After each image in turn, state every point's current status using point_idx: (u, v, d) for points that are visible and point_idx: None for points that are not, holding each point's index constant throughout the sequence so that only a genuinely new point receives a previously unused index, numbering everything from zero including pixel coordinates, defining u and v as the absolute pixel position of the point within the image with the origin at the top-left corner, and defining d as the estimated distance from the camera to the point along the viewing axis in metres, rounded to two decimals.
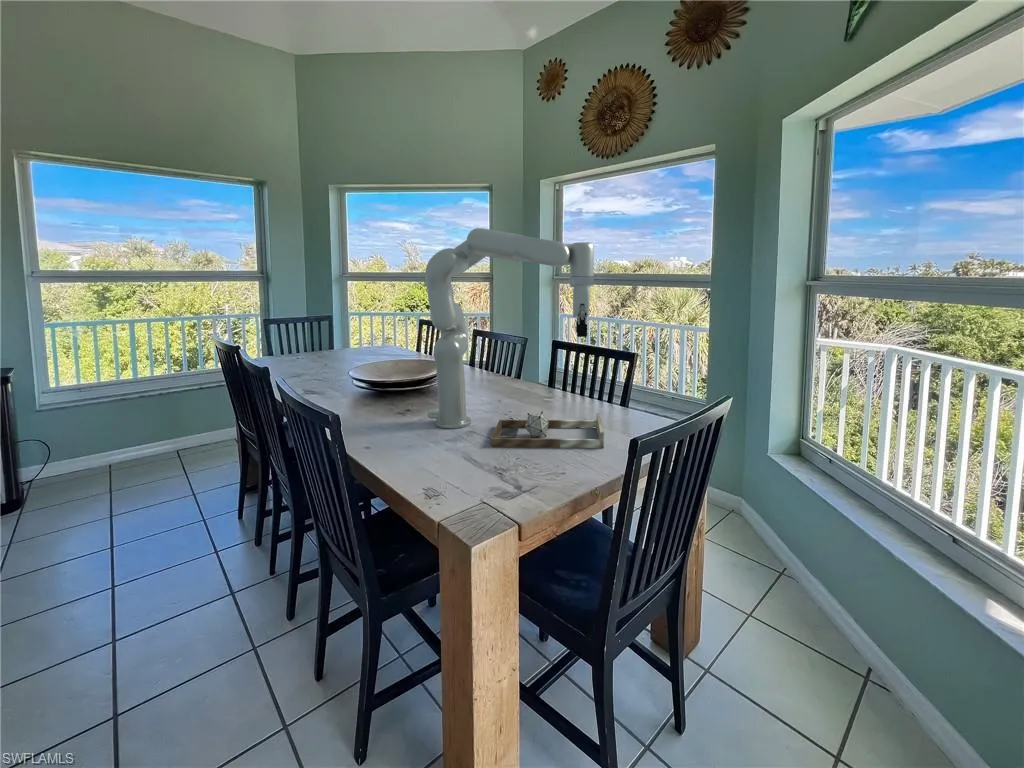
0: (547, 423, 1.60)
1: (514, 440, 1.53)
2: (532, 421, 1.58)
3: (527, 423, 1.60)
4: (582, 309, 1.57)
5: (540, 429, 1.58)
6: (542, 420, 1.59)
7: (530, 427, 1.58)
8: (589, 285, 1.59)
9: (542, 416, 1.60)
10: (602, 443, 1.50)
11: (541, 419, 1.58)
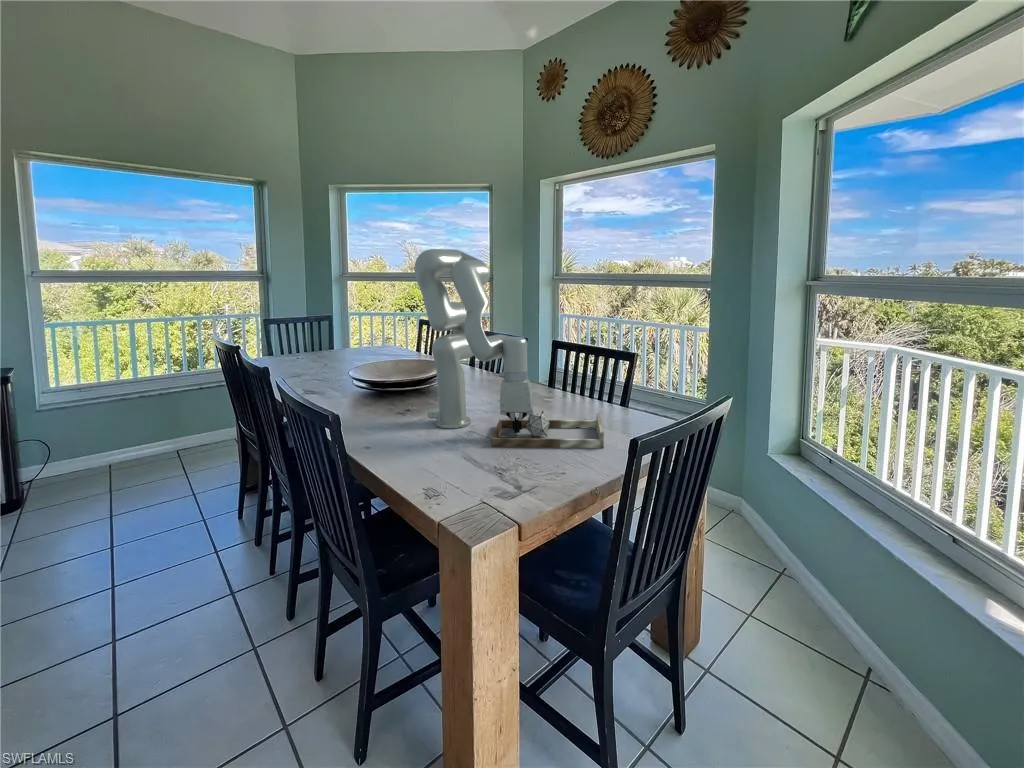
0: (548, 423, 1.60)
1: (514, 440, 1.53)
2: (533, 421, 1.59)
3: (528, 423, 1.60)
4: (532, 409, 1.60)
5: (541, 429, 1.58)
6: (543, 420, 1.59)
7: (531, 427, 1.58)
8: None
9: (543, 416, 1.61)
10: (602, 443, 1.50)
11: (542, 419, 1.58)
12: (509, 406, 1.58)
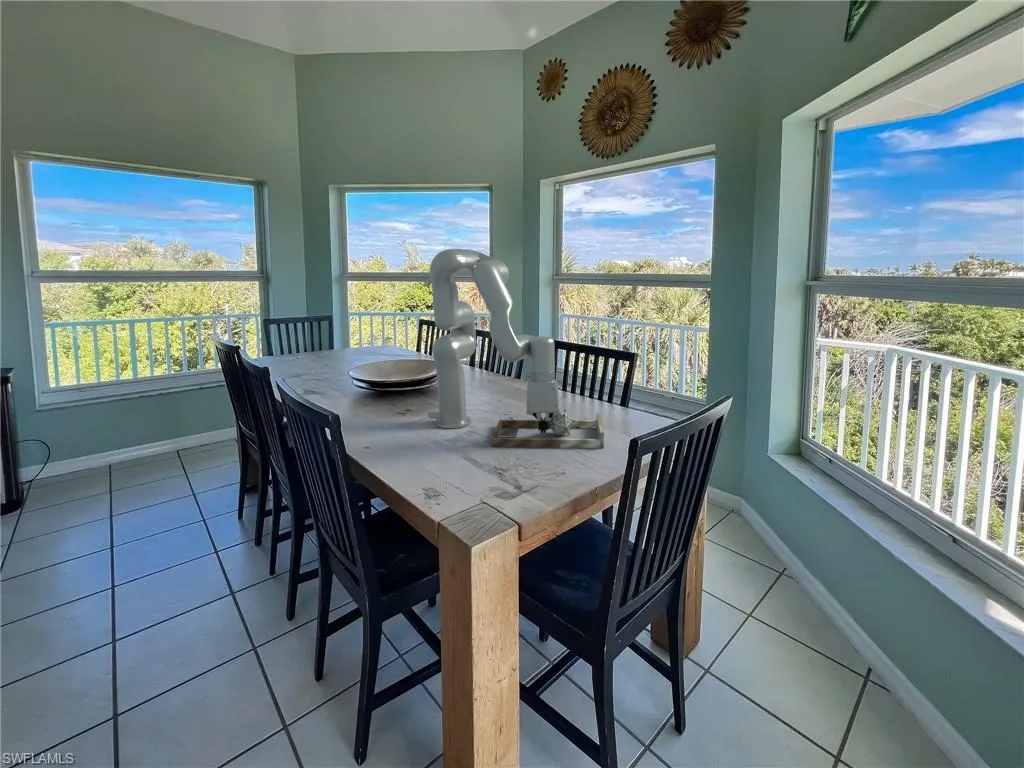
0: (571, 421, 1.61)
1: (514, 440, 1.53)
2: (556, 419, 1.59)
3: (551, 421, 1.61)
4: (558, 409, 1.59)
5: (564, 427, 1.59)
6: (566, 419, 1.60)
7: (554, 425, 1.59)
8: None
9: (566, 414, 1.62)
10: (602, 443, 1.50)
11: (565, 417, 1.60)
12: (536, 406, 1.57)
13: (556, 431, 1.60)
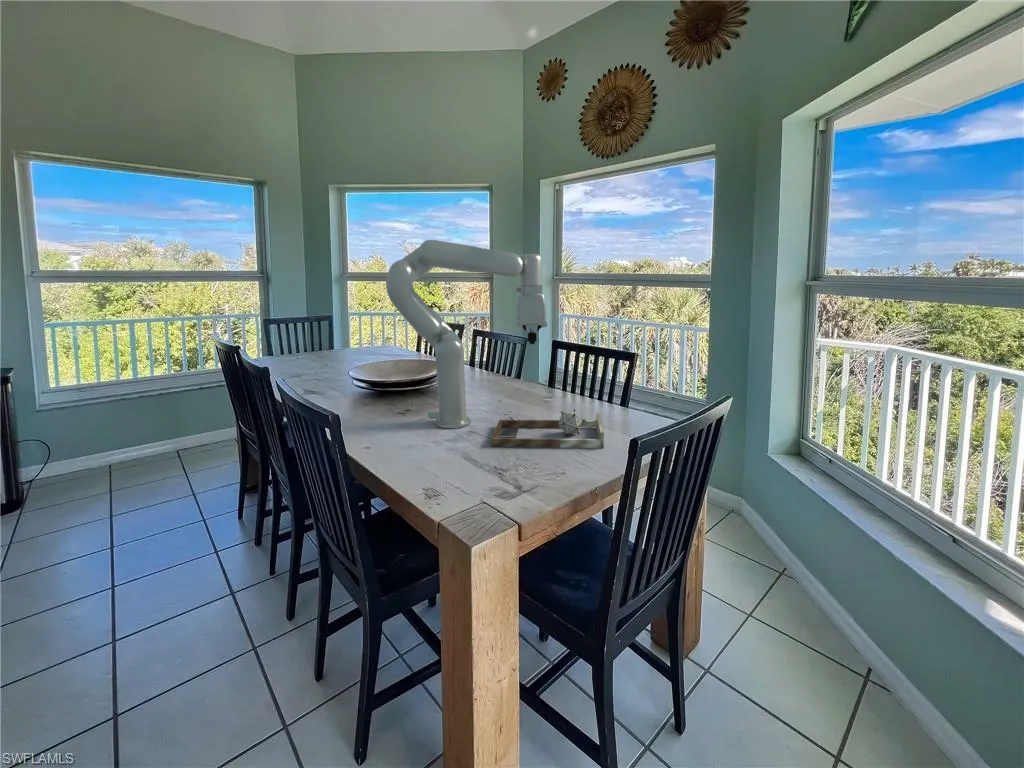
0: (581, 421, 1.61)
1: (514, 440, 1.53)
2: (567, 419, 1.60)
3: (561, 421, 1.61)
4: (546, 321, 1.74)
5: (575, 427, 1.59)
6: (577, 418, 1.60)
7: (565, 425, 1.59)
8: None
9: (575, 414, 1.62)
10: (602, 443, 1.50)
11: (576, 417, 1.60)
12: (525, 318, 1.72)
13: (566, 431, 1.60)
